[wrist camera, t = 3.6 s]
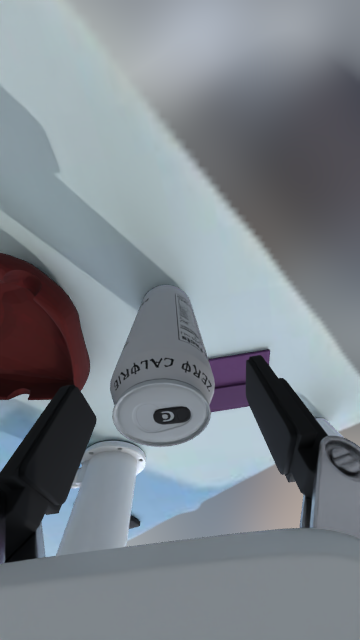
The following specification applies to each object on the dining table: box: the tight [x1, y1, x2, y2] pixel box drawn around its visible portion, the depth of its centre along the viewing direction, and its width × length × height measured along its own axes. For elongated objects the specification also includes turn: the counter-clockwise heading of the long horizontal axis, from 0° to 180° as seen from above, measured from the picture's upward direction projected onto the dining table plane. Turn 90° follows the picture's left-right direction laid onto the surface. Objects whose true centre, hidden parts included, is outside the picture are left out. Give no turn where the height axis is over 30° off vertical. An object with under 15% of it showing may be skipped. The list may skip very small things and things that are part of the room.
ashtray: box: [0, 253, 90, 400], centre depth 21 cm, size 18×16×5 cm
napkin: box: [208, 350, 270, 412], centre depth 28 cm, size 20×11×1 cm, turn 99°
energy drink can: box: [110, 285, 215, 447], centre depth 15 cm, size 6×6×15 cm
